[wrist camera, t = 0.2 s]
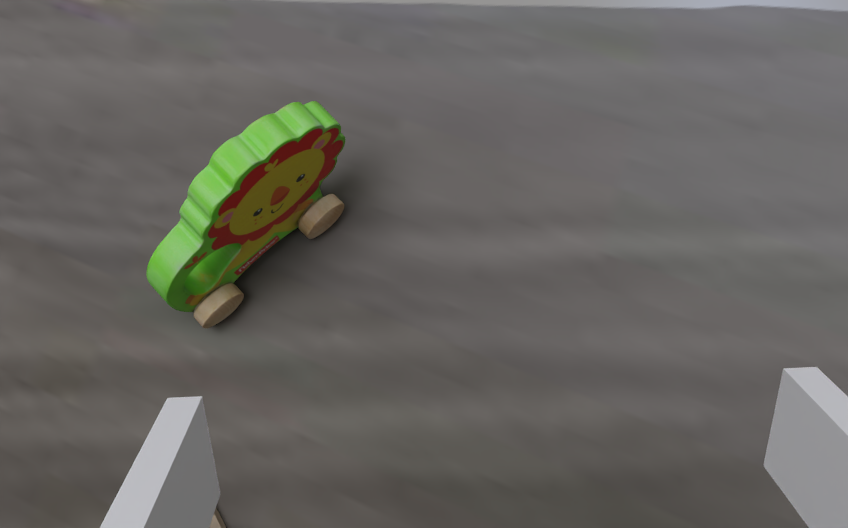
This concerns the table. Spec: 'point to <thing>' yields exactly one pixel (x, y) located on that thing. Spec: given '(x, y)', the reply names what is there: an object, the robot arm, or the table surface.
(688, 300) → the table surface
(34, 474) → the table surface
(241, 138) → the toy lion
